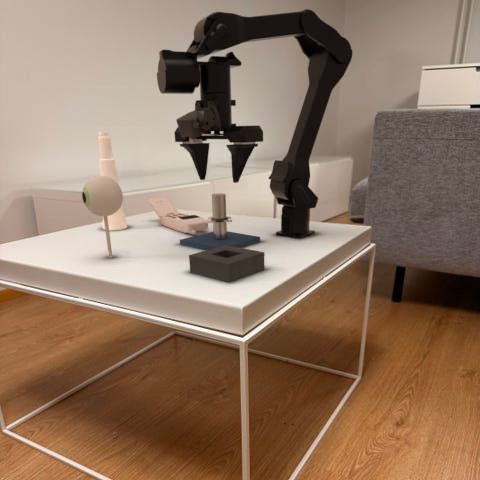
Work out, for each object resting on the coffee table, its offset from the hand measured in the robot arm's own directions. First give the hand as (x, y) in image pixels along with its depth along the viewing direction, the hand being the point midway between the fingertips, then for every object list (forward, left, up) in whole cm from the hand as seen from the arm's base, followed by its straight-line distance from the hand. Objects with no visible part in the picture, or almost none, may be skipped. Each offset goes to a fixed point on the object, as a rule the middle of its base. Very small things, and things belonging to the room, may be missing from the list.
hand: (218, 181), depth 93 cm
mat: (0, -1, -13) cm, 13 cm away
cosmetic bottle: (+4, -33, -13) cm, 35 cm away
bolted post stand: (0, 0, -12) cm, 12 cm away
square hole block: (+14, +14, -13) cm, 24 cm away
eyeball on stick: (+21, -10, -13) cm, 26 cm away
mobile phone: (-7, -21, -13) cm, 25 cm away
